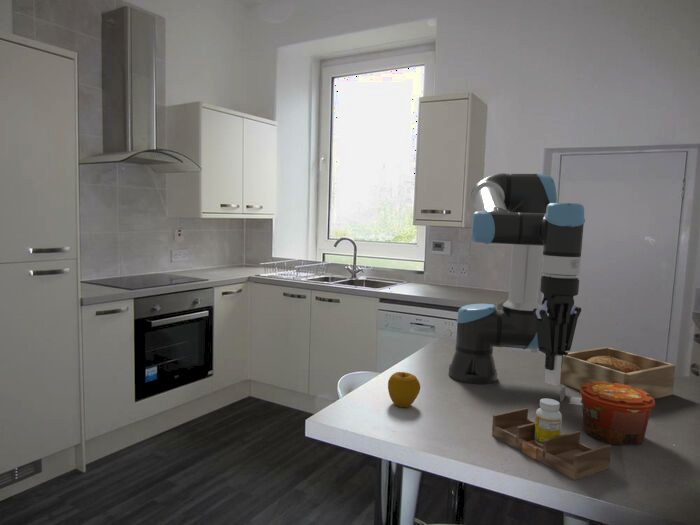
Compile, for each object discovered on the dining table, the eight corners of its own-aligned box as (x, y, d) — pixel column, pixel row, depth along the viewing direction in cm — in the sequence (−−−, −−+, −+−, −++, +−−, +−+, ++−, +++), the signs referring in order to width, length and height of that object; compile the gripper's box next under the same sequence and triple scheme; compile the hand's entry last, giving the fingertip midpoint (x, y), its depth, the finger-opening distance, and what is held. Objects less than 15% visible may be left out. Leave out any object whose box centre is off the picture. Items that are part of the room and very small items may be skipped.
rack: (491, 435, 115) (492, 415, 115) (524, 426, 120) (526, 407, 120) (573, 480, 96) (575, 456, 95) (609, 468, 101) (611, 445, 101)
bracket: (598, 411, 134) (599, 398, 133) (559, 402, 139) (560, 390, 139) (601, 404, 139) (602, 392, 139) (563, 396, 144) (564, 384, 144)
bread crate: (556, 381, 156) (558, 354, 155) (604, 372, 168) (606, 346, 167) (625, 406, 137) (627, 375, 136) (673, 394, 149) (676, 365, 148)
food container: (616, 419, 128) (620, 379, 127) (668, 447, 112) (672, 402, 111) (562, 422, 124) (565, 381, 123) (608, 452, 109) (612, 405, 108)
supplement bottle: (555, 452, 104) (558, 408, 104) (530, 444, 108) (532, 401, 107) (563, 443, 108) (566, 401, 108) (539, 436, 112) (541, 395, 111)
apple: (422, 402, 134) (424, 371, 133) (413, 413, 126) (415, 380, 125) (393, 397, 138) (394, 366, 137) (382, 407, 130) (383, 374, 129)
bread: (567, 383, 154) (569, 352, 153) (590, 373, 166) (593, 344, 165) (639, 403, 139) (642, 368, 138) (659, 390, 151) (662, 358, 150)
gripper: (554, 278, 98) (546, 393, 100) (595, 277, 105) (586, 385, 107) (524, 274, 105) (517, 382, 107) (565, 273, 111) (557, 375, 113)
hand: (552, 383), depth 107 cm, fingers closed
